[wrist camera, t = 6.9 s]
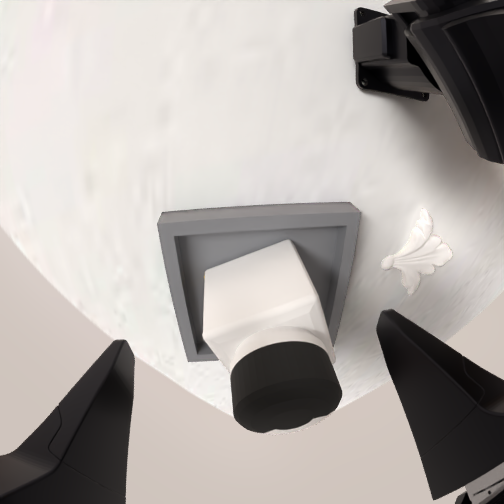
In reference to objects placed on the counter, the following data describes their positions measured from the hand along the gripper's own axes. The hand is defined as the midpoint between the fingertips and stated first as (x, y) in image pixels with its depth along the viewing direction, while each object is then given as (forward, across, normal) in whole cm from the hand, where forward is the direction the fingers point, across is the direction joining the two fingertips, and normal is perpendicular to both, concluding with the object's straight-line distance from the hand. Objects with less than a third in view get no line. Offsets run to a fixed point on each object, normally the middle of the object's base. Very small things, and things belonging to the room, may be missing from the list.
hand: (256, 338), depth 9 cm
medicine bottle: (+12, -1, +8) cm, 15 cm away
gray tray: (+13, -1, +8) cm, 15 cm away
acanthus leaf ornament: (+14, -17, +7) cm, 23 cm away
